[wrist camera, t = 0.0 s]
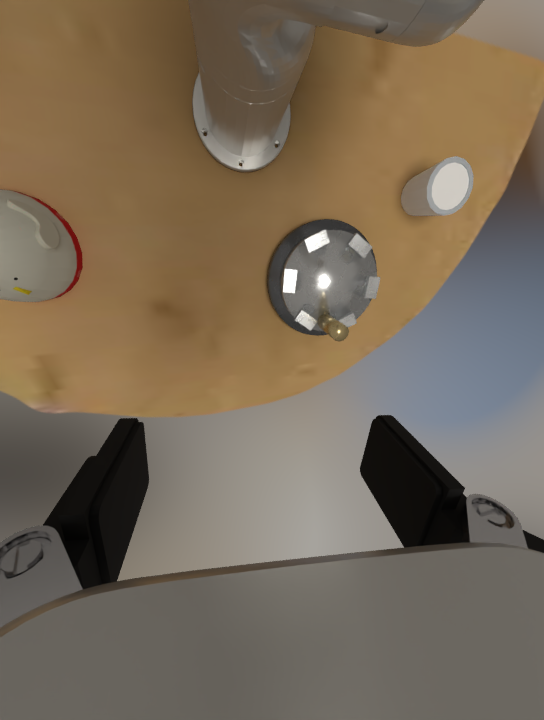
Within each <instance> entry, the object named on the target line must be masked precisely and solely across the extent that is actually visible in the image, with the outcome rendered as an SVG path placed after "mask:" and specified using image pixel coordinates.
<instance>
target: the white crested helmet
mask: <svg viewBox="0 0 544 720" xmlns="http://www.w3.org/2000/svg"><path fill="white" fill-rule="evenodd" d="M81 270H82V252H81V248H80V245H79V242H78V239H77V237H76V235H75V234H74V232H73V230H72V229H71V227H70V226H69V224H68V223H67V222H66V221H65V220H64V219H63V218H62V217H61V216H60V215H59V214H58V213H57V212H56V211H55V210H54V209H53V208H51V207H50V206H48V205H47V204H45V203H43V202H42V201H40V200H39V199H36V198H33V197H30V196H28V195H25V194H22V193H19V192H15V191H10V190H0V299H4V300H10V301H20V302H40V301H44V300H48V299H53V298H56V297H60V296H62V295H63V294H65V293H66V292H68V291H70V290H71V289H72V288H73V286H74V285H75V284H76V282H77V281H78V280H79V277H80V273H81Z"/></svg>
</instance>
